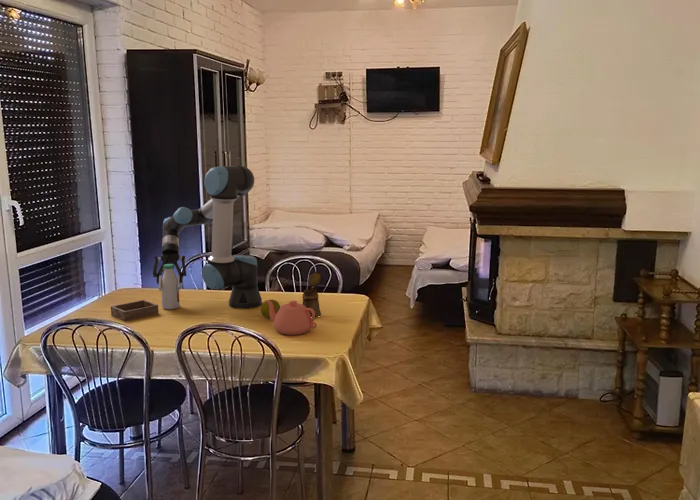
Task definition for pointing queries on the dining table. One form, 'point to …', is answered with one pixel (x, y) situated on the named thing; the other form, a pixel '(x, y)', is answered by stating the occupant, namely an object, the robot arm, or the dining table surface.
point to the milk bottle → (169, 288)
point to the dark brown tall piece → (312, 294)
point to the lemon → (266, 310)
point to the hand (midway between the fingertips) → (169, 288)
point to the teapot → (292, 318)
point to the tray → (134, 310)
